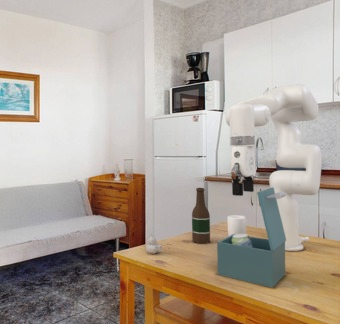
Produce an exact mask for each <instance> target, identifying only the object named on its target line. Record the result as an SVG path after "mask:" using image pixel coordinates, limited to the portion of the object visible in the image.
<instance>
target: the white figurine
mask: <svg viewBox="0 0 340 324" xmlns="http://www.w3.org/2000/svg"><path fill="white" fill-rule="evenodd" d="M146 241H147V244H146V245H145V251H146V252H147V253H148V254H150V255H151V254H152V255H153V254H157V253H158V252H161V251H162V247H163V245H162V244H161V243H158V241H157V238H156V237H155V236H154V235H153V234H152V233H151V234H150V237H149V238H148V239H147V240H146Z"/></svg>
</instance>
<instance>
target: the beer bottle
mask: <svg viewBox="0 0 340 324" xmlns="http://www.w3.org/2000/svg"><path fill="white" fill-rule="evenodd" d="M195 191H196V197H195V198H196V199H195V206H194V208H193V209H192V211H191V228H192V229H191V234H192V235H191V238H192V242H193V243H194V244H199V245H201V244H202V245H206V244H210V242H211V215H210V211H209V209H208V208H207V207H206V200H205V198H206V197H205V191H206V190H205V188H204V187H196V189H195Z"/></svg>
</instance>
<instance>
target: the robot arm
mask: <svg viewBox="0 0 340 324" xmlns="http://www.w3.org/2000/svg"><path fill="white" fill-rule="evenodd" d="M319 112H320V108H319V104H318V102H317V99H316V98H315V96H314V95H313V93H312V91H311V90H310V89H309V88H308V87H307V86H306V85H304V84H301V83H299V84H291V85H284V86H278V87H274V88H272V89H270V90H268V91H267V92H265V93H263V94H262V95H259V96H255V97H252V98H250V99H247V100H243V101H240V102H238V103H235V104H234V105H232V106H230V107H229V108H228V110H227V111H226V113H225V122H226V125H227V126H228V127H229V148H231V153H230V154H231V155H230V174H231V177H230V178H231V189H232V190H231V191H232V193H231V194H232V196H235V197H236V196H238V197H242V196H243V197H244V192H247V193H248V192H249V193H253V192H254V191H255V189H254V188H255V187H254V176H255V175H256V174H257V166H256V165H257V164H256V153H255V148H254V147H255V146H256V137H255V130H256V129H255V128H256V127H257V128H258V127H264V126H266V125H268V124H269V123H270V121H271V120H272V123H273V125H274V127H275V129H276V132H277V145H276V154H275V161H276V164H277V166H279V167H281V168H285V169H280V170H276V171H273V172H272V173H271V174H270V175H269V178H268V183H269V188H274V191H275V194H276V193H278V192H281V191H283V192H285V194H286V195H285V196H284V197H282V198H280V199H276V200H277V204H278V208H279V212H280V216H281V220H282V224H283V228H284V233H285V237H286V241H285V252H286V251H288V252H298V251H299V252H300V251H302V250H304V248H305V247H304V245H303V244H302V243H306V242H310V237H309V236H301V235H300V205H299V202H298V201H297V199H296V198H295V197H294V195H298V196H300V195H301V196H315V195H316V194H318V193H319V190H320V186H321V177H322V176H321V175H322V165H323V164H322V163H323V153H322V150H321V148H320V146H318V145H317V144H312V143H311V144H310V143H309V144H306V143H305V144H302V137H303V134H302V131H301V130H300V129H299V128H298V127H297V126H296V124H294V123H295V122H308V121H309V122H310V121H313V120H316V118H318V115H319ZM291 169H293V170H291ZM294 169H305V170H294Z"/></svg>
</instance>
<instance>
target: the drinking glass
mask: <svg viewBox="0 0 340 324" xmlns="http://www.w3.org/2000/svg"><path fill="white" fill-rule="evenodd" d="M226 229H227V237H229V236H230V235H232V234H247V217H246V216H245V215H238V214H231V215H227V217H226Z"/></svg>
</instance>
